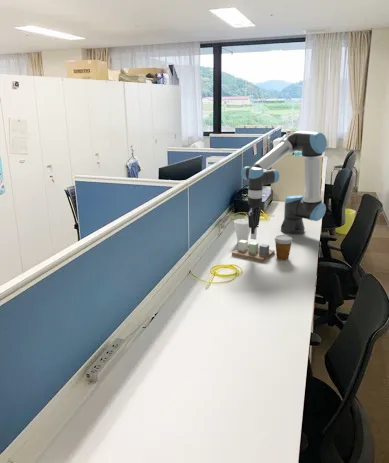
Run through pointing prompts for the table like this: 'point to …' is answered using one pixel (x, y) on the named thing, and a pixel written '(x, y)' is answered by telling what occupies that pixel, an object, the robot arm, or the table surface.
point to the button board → (252, 255)
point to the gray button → (264, 249)
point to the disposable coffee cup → (283, 246)
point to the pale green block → (253, 247)
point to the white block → (242, 245)
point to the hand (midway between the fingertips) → (253, 238)
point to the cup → (242, 229)
